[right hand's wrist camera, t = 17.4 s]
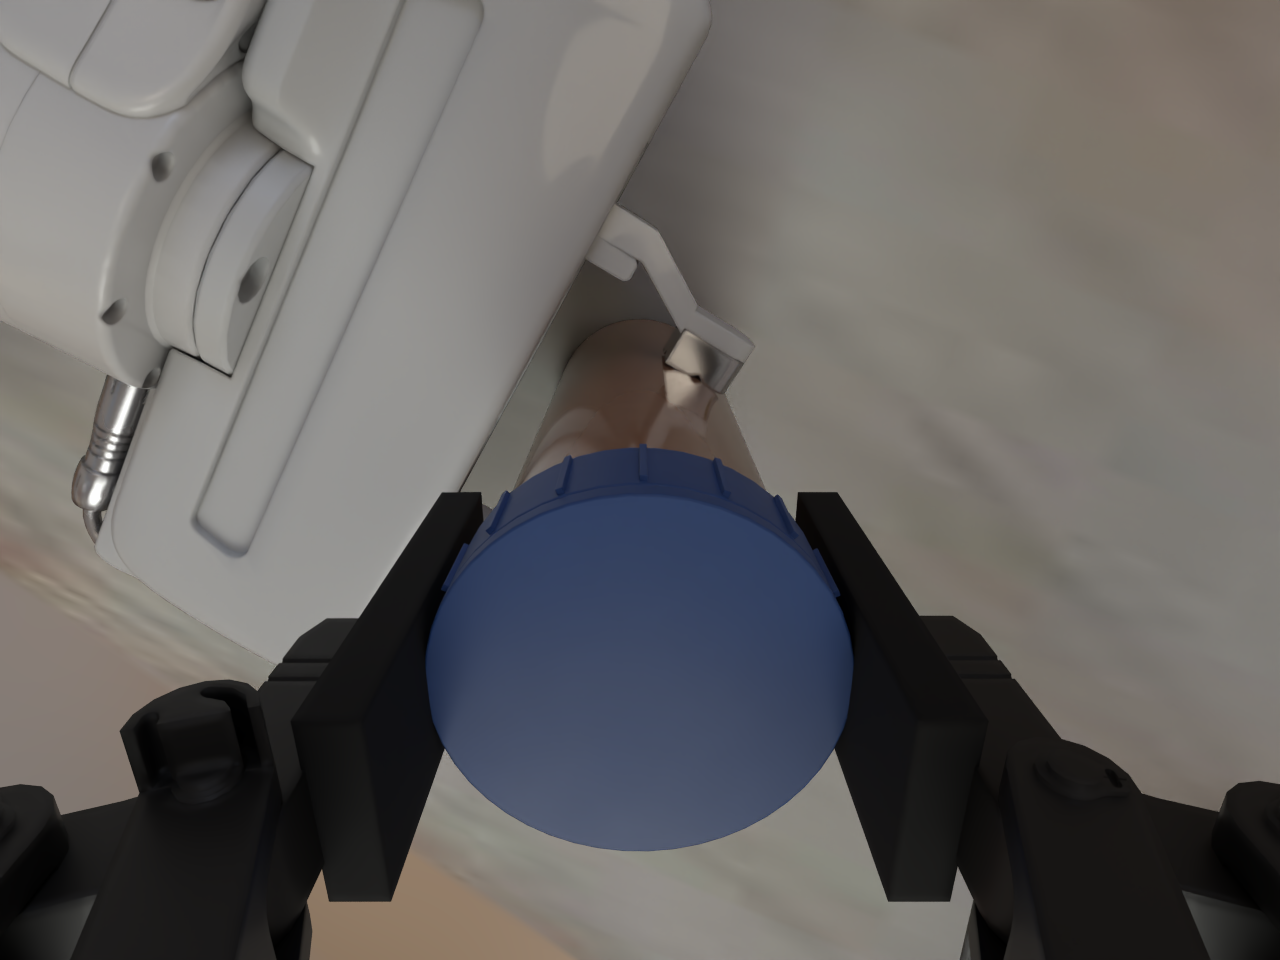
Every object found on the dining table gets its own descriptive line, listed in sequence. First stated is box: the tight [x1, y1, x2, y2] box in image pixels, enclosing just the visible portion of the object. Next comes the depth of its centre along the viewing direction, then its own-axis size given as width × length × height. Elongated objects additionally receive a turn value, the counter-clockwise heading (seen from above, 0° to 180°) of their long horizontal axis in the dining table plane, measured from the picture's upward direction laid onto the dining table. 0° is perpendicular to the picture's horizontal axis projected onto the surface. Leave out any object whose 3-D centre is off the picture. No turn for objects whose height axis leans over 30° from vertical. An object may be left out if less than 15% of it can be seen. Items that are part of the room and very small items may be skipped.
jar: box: [513, 319, 766, 491], centre depth 18 cm, size 6×6×16 cm
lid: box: [425, 444, 854, 851], centre depth 11 cm, size 6×6×2 cm
